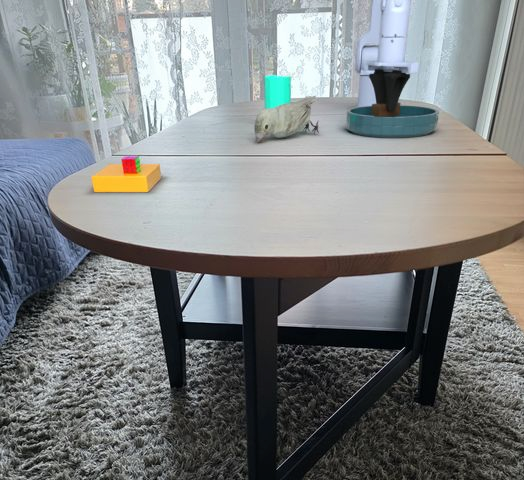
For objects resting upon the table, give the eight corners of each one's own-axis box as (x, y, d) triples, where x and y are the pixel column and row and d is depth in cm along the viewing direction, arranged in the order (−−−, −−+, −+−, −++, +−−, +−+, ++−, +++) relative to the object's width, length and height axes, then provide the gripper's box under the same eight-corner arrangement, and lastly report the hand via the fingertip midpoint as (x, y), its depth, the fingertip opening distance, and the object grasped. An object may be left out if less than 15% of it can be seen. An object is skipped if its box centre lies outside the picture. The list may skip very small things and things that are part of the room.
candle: (261, 125, 121) (259, 68, 115) (283, 123, 123) (283, 67, 117) (271, 129, 117) (271, 70, 110) (295, 127, 119) (295, 68, 112)
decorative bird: (248, 141, 104) (247, 101, 100) (305, 132, 113) (306, 95, 109) (265, 145, 101) (264, 103, 97) (322, 135, 109) (324, 96, 105)
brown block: (391, 114, 115) (392, 101, 114) (399, 115, 113) (400, 102, 112) (370, 116, 113) (371, 103, 111) (378, 118, 111) (379, 104, 109)
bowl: (363, 121, 123) (364, 103, 121) (445, 126, 115) (448, 107, 113) (332, 134, 109) (333, 114, 107) (422, 141, 100) (425, 119, 98)
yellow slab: (93, 192, 73) (88, 161, 71) (111, 178, 80) (106, 150, 78) (148, 192, 72) (144, 161, 70) (161, 178, 79) (158, 149, 77)
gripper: (355, 37, 109) (351, 107, 116) (403, 37, 98) (395, 114, 105) (380, 37, 112) (374, 104, 119) (429, 36, 101) (420, 111, 108)
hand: (386, 109), depth 112 cm, fingers closed on brown block, 2 cm apart
